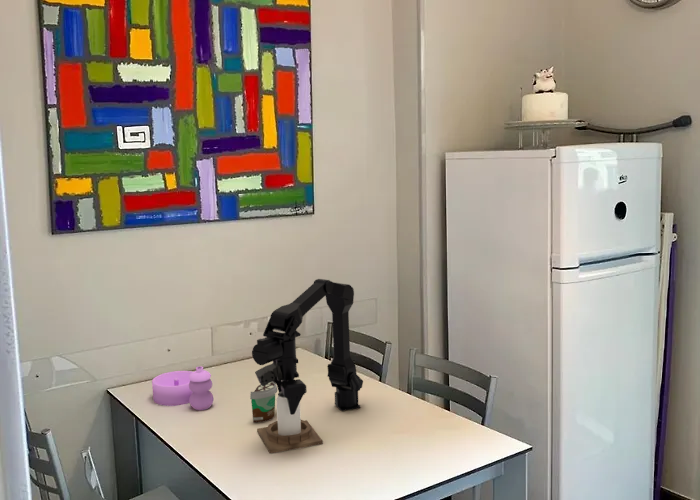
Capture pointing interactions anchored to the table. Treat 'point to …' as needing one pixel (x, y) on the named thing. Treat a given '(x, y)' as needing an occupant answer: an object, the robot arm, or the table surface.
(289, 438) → the brown ring stand base
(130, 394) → the table surface
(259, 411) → the food container
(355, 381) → the robot arm
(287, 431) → the can
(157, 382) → the container set
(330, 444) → the table surface
